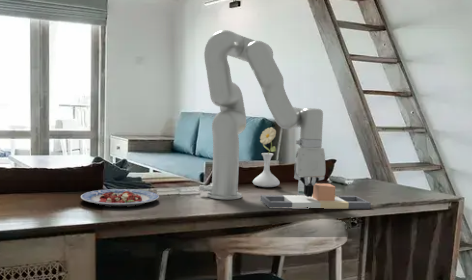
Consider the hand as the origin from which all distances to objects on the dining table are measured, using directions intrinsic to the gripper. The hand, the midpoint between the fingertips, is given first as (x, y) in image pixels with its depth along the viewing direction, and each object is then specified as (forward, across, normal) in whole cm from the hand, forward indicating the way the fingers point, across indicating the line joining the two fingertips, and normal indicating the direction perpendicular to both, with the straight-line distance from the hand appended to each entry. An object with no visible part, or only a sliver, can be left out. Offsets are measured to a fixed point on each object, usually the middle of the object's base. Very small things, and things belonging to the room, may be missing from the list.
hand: (308, 196), depth 185 cm
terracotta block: (+1, +6, 0) cm, 6 cm away
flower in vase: (+3, -7, +36) cm, 36 cm away
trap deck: (+3, +2, 0) cm, 4 cm away
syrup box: (+3, +5, +19) cm, 20 cm away
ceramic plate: (+3, -65, +4) cm, 65 cm away
